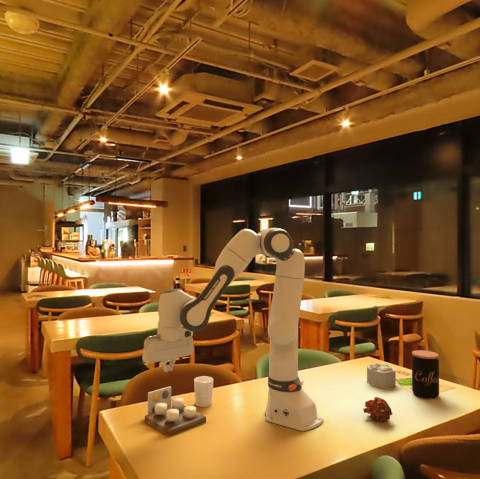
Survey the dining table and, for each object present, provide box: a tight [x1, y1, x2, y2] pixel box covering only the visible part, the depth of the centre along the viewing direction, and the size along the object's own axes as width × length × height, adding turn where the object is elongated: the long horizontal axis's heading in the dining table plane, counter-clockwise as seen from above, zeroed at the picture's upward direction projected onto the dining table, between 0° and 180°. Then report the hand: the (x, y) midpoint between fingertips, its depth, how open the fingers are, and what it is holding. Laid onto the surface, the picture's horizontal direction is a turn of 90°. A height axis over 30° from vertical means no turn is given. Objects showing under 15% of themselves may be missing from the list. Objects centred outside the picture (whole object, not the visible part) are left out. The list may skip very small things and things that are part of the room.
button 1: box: [184, 405, 197, 418], centre depth 145 cm, size 4×4×2 cm
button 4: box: [155, 403, 167, 415], centre depth 145 cm, size 4×4×2 cm
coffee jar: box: [411, 349, 440, 400], centre depth 172 cm, size 11×11×18 cm
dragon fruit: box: [362, 396, 393, 422], centre depth 148 cm, size 8×8×12 cm
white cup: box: [193, 375, 214, 408], centre depth 162 cm, size 8×8×10 cm
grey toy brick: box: [366, 362, 397, 389], centre depth 187 cm, size 10×13×9 cm
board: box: [144, 405, 207, 437], centre depth 145 cm, size 16×16×2 cm
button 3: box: [171, 397, 185, 409], centre depth 150 cm, size 4×4×2 cm
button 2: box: [166, 409, 179, 421], centre depth 139 cm, size 4×4×2 cm
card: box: [147, 385, 172, 415], centre depth 152 cm, size 1×10×9 cm, turn 134°
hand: (168, 370), depth 145 cm, fingers closed
